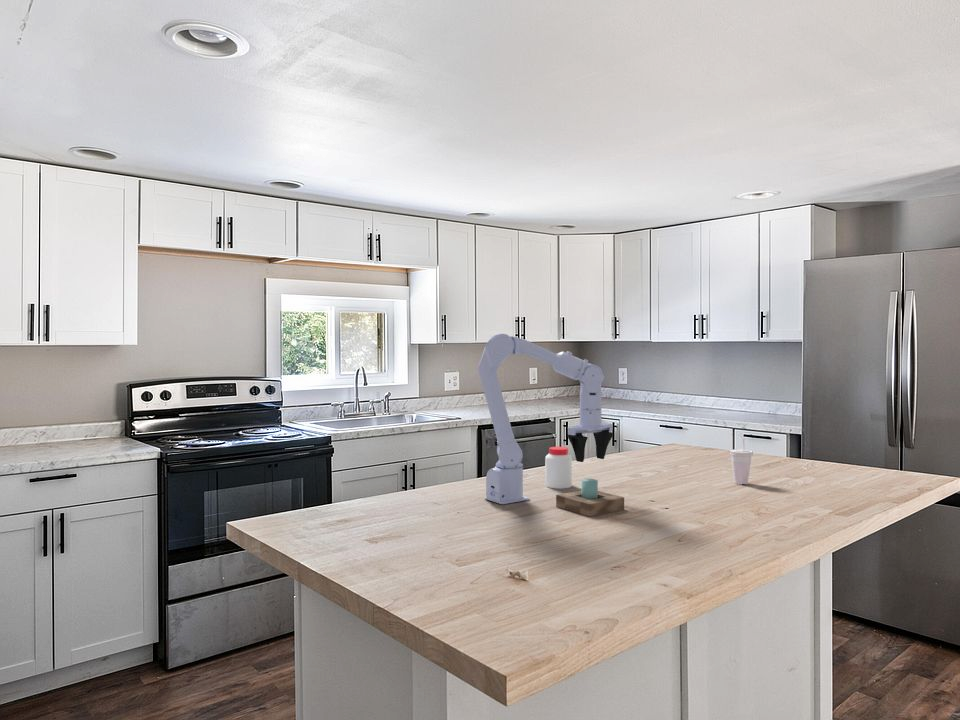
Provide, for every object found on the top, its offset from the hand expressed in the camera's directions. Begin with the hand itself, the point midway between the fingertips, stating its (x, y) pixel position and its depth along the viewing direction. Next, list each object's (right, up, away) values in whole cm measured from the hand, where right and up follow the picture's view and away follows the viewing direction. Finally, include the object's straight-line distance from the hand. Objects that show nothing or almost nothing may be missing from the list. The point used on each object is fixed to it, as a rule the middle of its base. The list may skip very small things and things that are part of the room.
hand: (590, 460), depth 179 cm
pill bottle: (-7, -10, +16) cm, 20 cm away
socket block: (-2, -11, -9) cm, 14 cm away
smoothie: (+48, -10, +19) cm, 53 cm away
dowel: (-2, -11, -9) cm, 14 cm away
